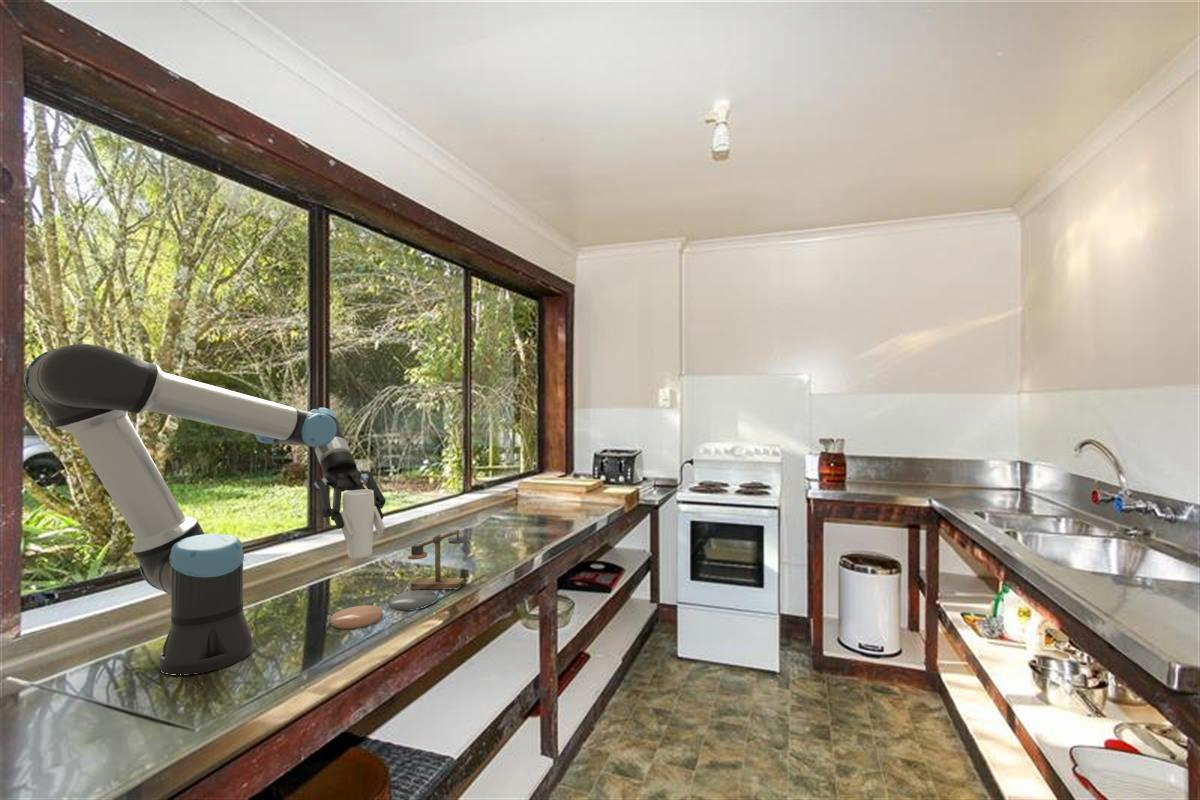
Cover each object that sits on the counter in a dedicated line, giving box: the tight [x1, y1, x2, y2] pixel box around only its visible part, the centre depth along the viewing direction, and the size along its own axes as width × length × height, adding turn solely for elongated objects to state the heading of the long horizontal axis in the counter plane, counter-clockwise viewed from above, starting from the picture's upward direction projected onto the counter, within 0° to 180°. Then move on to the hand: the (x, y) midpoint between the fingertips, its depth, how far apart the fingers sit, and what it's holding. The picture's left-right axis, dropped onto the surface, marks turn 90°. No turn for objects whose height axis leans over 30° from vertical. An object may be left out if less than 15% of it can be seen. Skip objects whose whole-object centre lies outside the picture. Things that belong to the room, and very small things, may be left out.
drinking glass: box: [342, 488, 374, 559], centre depth 128 cm, size 7×7×15 cm
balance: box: [407, 529, 468, 591], centre depth 150 cm, size 16×5×16 cm, turn 87°
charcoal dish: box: [389, 590, 437, 611], centre depth 138 cm, size 11×11×1 cm
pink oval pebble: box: [330, 604, 384, 630], centre depth 127 cm, size 11×11×1 cm
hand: (366, 534), depth 126 cm, fingers closed on drinking glass, 7 cm apart
